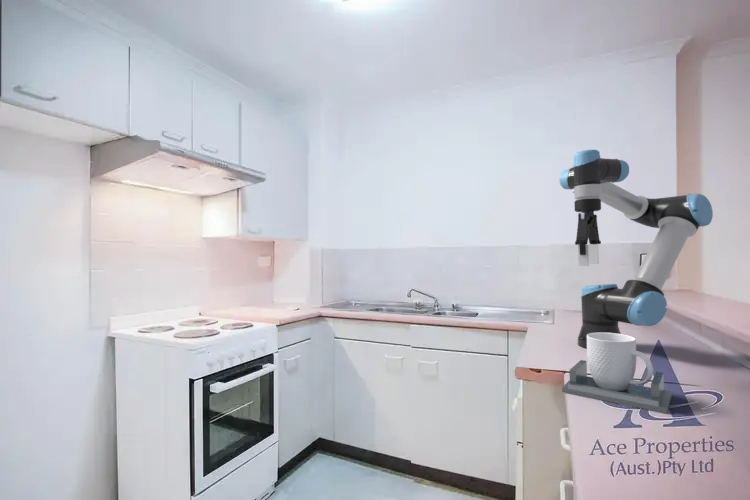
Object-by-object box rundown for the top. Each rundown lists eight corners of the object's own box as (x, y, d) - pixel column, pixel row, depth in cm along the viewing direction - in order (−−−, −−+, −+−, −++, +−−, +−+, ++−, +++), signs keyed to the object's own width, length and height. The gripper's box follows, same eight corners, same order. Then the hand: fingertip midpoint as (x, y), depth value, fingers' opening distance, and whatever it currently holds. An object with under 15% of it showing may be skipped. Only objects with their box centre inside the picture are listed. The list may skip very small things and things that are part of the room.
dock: (575, 378, 112) (574, 359, 112) (671, 396, 98) (671, 373, 98) (562, 392, 102) (561, 370, 102) (666, 413, 88) (666, 388, 88)
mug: (662, 392, 97) (661, 340, 97) (642, 403, 91) (641, 347, 91) (600, 377, 109) (599, 330, 109) (579, 385, 103) (578, 336, 103)
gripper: (584, 202, 138) (585, 262, 138) (563, 197, 119) (565, 266, 120) (608, 200, 133) (609, 262, 134) (591, 194, 115) (593, 266, 115)
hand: (589, 264), depth 127 cm, fingers open, 13 cm apart
